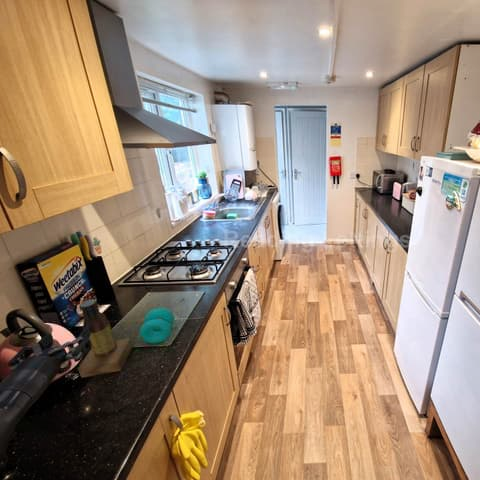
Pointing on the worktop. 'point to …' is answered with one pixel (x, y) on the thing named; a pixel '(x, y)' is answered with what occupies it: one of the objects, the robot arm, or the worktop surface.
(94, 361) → the oak block
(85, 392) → the worktop surface
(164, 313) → the donuts
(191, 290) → the worktop surface
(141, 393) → the worktop surface
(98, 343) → the sauce bottle
